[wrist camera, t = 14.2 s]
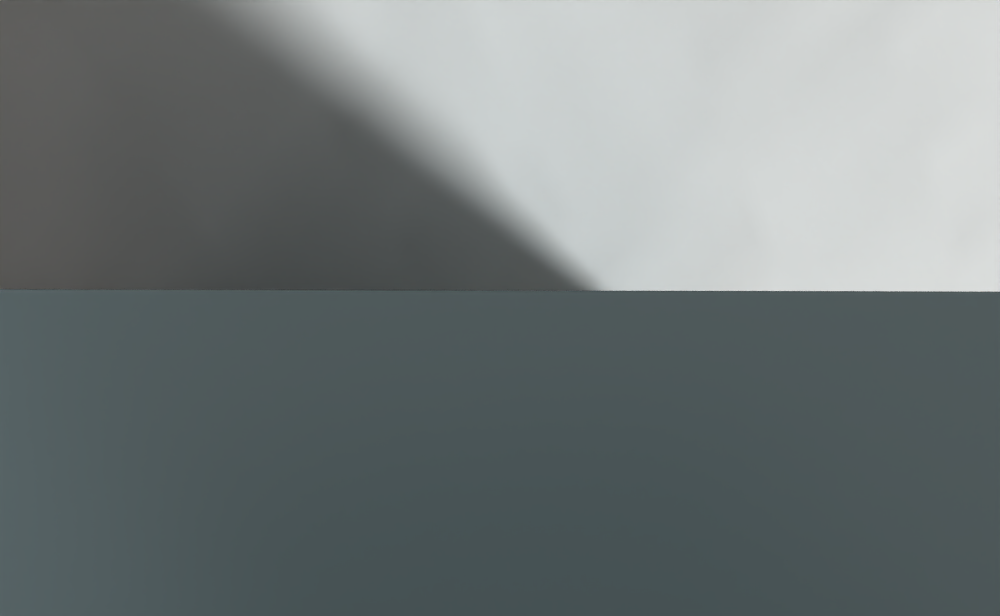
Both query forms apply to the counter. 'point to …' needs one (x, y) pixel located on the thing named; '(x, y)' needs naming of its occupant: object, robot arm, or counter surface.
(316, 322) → the grey-blue slanted prism
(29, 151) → the counter surface
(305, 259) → the counter surface
